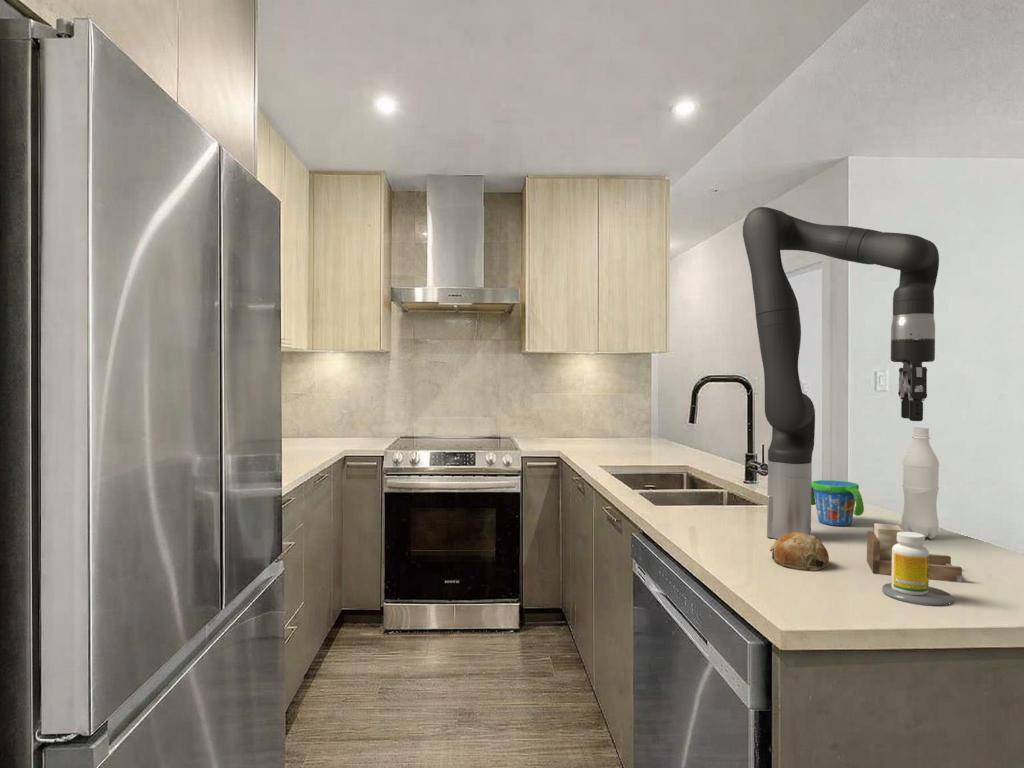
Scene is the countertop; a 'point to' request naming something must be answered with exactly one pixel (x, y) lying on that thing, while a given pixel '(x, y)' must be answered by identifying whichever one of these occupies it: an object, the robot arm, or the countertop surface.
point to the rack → (882, 555)
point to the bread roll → (800, 552)
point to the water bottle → (920, 486)
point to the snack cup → (836, 501)
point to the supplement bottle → (910, 564)
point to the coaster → (930, 598)
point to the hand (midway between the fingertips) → (911, 419)
